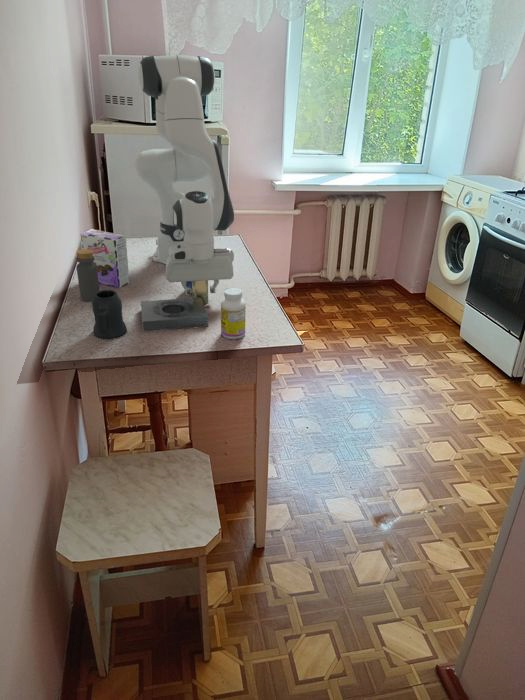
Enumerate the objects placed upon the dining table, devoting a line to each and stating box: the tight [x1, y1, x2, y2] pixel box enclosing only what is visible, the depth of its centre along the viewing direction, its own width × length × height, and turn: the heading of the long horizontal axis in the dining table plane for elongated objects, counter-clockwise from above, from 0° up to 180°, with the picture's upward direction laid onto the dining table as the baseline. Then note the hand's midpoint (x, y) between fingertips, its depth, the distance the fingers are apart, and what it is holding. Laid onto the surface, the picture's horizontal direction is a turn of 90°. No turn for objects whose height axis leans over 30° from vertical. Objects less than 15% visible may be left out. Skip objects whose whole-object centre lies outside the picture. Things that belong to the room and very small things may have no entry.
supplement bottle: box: [220, 287, 247, 340], centre depth 143 cm, size 7×7×13 cm
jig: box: [140, 297, 209, 332], centre depth 153 cm, size 14×18×3 cm
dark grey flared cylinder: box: [91, 289, 128, 340], centre depth 141 cm, size 12×9×11 cm
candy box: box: [80, 228, 131, 289], centre depth 173 cm, size 14×6×16 cm, turn 65°
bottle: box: [75, 248, 101, 303], centre depth 161 cm, size 6×6×15 cm
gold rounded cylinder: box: [191, 280, 209, 306], centre depth 162 cm, size 5×5×8 cm
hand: (200, 293), depth 163 cm, fingers open, 6 cm apart
